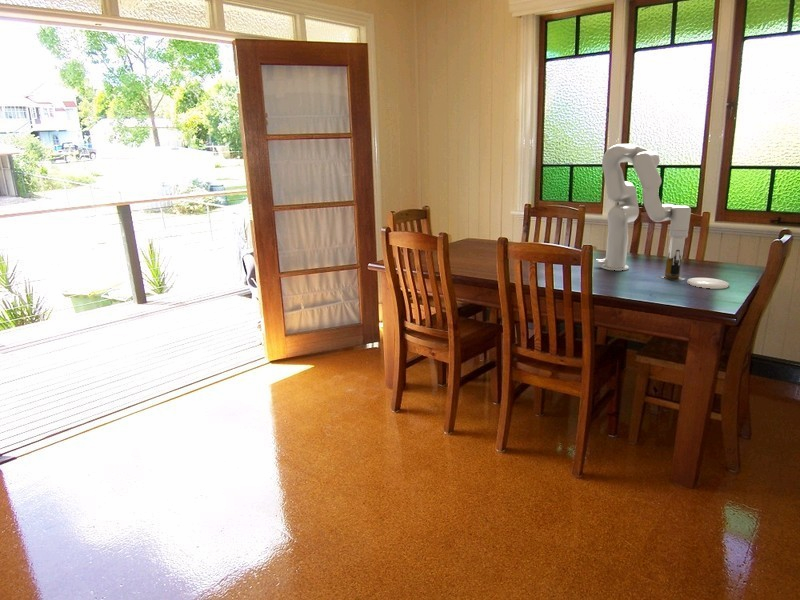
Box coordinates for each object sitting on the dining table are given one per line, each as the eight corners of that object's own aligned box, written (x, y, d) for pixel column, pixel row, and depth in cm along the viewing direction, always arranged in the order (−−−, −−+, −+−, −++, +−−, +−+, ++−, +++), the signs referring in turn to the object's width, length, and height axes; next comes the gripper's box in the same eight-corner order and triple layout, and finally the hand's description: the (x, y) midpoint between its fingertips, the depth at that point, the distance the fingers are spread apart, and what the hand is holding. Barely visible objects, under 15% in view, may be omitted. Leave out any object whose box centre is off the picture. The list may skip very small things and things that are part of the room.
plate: (689, 287, 235) (690, 285, 234) (685, 278, 249) (685, 276, 249) (731, 290, 229) (732, 287, 229) (724, 281, 243) (724, 278, 243)
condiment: (670, 275, 255) (673, 250, 252) (686, 279, 248) (690, 253, 244) (659, 277, 252) (662, 252, 249) (675, 281, 245) (679, 255, 241)
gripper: (667, 230, 254) (663, 267, 259) (671, 236, 238) (666, 275, 243) (685, 230, 251) (680, 268, 256) (690, 237, 236) (685, 277, 241)
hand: (673, 271), depth 250 cm, fingers closed on condiment, 6 cm apart
